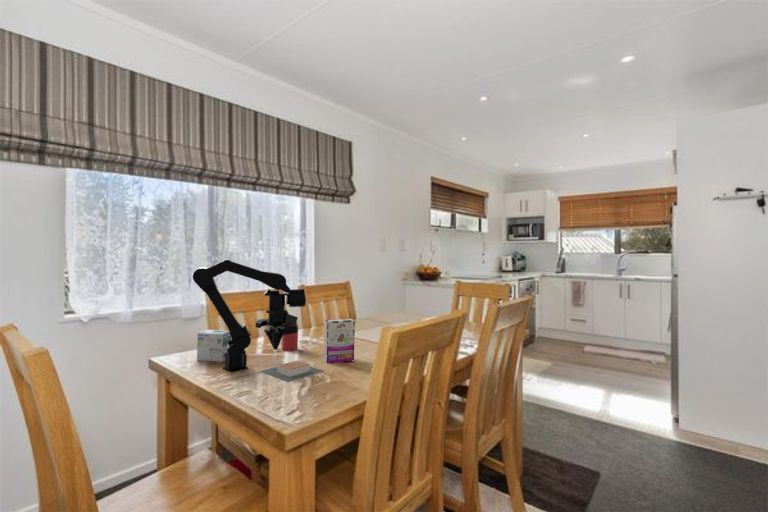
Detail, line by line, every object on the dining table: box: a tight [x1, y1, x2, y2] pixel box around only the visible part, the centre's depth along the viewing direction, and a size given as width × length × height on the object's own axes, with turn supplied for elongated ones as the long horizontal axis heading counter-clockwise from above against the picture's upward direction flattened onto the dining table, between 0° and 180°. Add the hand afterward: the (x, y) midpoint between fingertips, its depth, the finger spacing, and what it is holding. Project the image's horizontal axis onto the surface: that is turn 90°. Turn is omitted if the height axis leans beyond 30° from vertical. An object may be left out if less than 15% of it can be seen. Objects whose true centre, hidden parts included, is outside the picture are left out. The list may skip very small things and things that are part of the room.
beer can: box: [281, 321, 299, 352], centre depth 164 cm, size 7×7×12 cm
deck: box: [276, 359, 311, 377], centre depth 134 cm, size 9×2×7 cm
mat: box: [259, 366, 325, 383], centre depth 135 cm, size 16×16×1 cm
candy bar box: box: [323, 318, 356, 364], centre depth 150 cm, size 11×5×16 cm, turn 112°
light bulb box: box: [196, 329, 232, 363], centre depth 147 cm, size 11×7×11 cm, turn 84°
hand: (275, 349), depth 141 cm, fingers closed
